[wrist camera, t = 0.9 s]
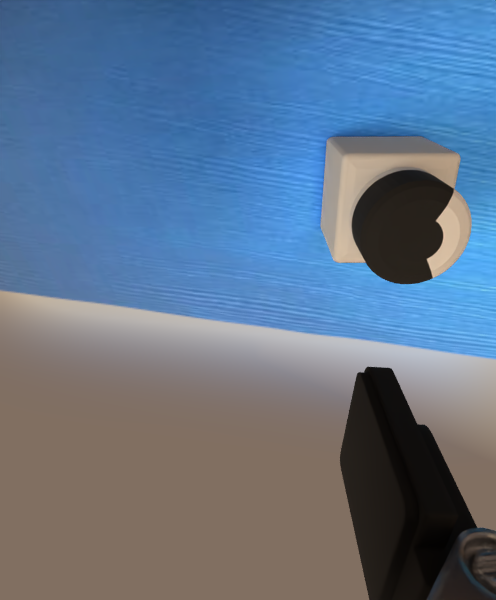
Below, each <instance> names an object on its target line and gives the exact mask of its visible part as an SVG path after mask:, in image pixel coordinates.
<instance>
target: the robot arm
mask: <svg viewBox="0 0 496 600" xmlns="http://www.w3.org/2000/svg"><path fill="white" fill-rule="evenodd" d="M340 465H341V471H342V475H343V480H344V484H345V489H346V494H347V498H348V503H349V508H350V512H351V517H352V521H353V526H354V531H355V535H356V540H357V545H358V549H359V554H360V558H361V563H362V567H363V572H364V577H365V581H366V586H367V590H368V595H369V600H496V531H494V530H490V529H485V528H477V526H476V524H475V523H474V520H473V518H472V516H471V514H470V512H469V510H468V508H467V506H466V503H465V501H464V499H463V497H462V495H461V493H460V491H459V489H458V487H457V485H456V483H455V481H454V478H453V476H452V474H451V473H450V470H449V468H448V466H447V464H446V462H445V460H444V458H443V456H442V454H441V451H440V450H439V447H438V445H437V443H436V441H435V439H434V437H433V435H432V433H431V431H430V430H429V428H428V427H427V426H425V425H418V424H417V423H416V421H415V418H414V416H413V414H412V412H411V410H410V407H409V405H408V403H407V401H406V399H405V396H404V394H403V392H402V390H401V388H400V385H399V383H398V381H397V379H396V377H395V375H394V372H393V370H392V369H390V368H381V367H367V368H366V369H365V371H364V373H361V372H359V373H358V374H357V377H356V381H355V386H354V391H353V396H352V400H351V405H350V410H349V415H348V419H347V424H346V429H345V434H344V439H343V443H342V448H341V454H340Z"/></svg>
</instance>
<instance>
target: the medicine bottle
mask: <svg viewBox="0 0 496 600" xmlns="http://www.w3.org/2000/svg"><path fill="white" fill-rule="evenodd" d="M459 164H460V155H459V154H458V153H456V152H454V151H452V150H449V149H447V148H445V147H443V146H441V145H439V144H437V143H434V142H432V141H430V140H428V139H426V138H424V137H421V136H393V137H330V138H329V139H328V140H327V145H326V158H325V172H324V186H323V199H322V213H321V229H322V232H323V234H324V237H325V239H326V242H327V245H328V247H329V250H330V252H331V255H332V257H333V260H334V261H335V262H338V263H366V264H367V265H368V267H369V268H370V269H371V270H372V271H373V272H374V273H375V274H376V275H378V276H379V277H381V278H383V279H385V280H387V281H390V282H393V283H399V284H415V283H420V282H424V281H427V280H430V279H432V278H434V277H436V276H438V275H440V274H441V273H443V272H445V271H446V270H447V269H448V268H450V267H451V266H452V265H453V264H454V263H455V262H456V261H457V260H458V258H459V257H460V256H461V254H462V253H463V251H464V249H465V248H466V245H467V243H468V241H469V237H470V233H471V214H470V210H469V207H468V205H467V203H466V201H465V200H464V198H463V197H462V196H461V195H460V193H458V192H457V191H456V190H455V189H454V188H455V183H456V179H457V174H458V169H459Z"/></svg>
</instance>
